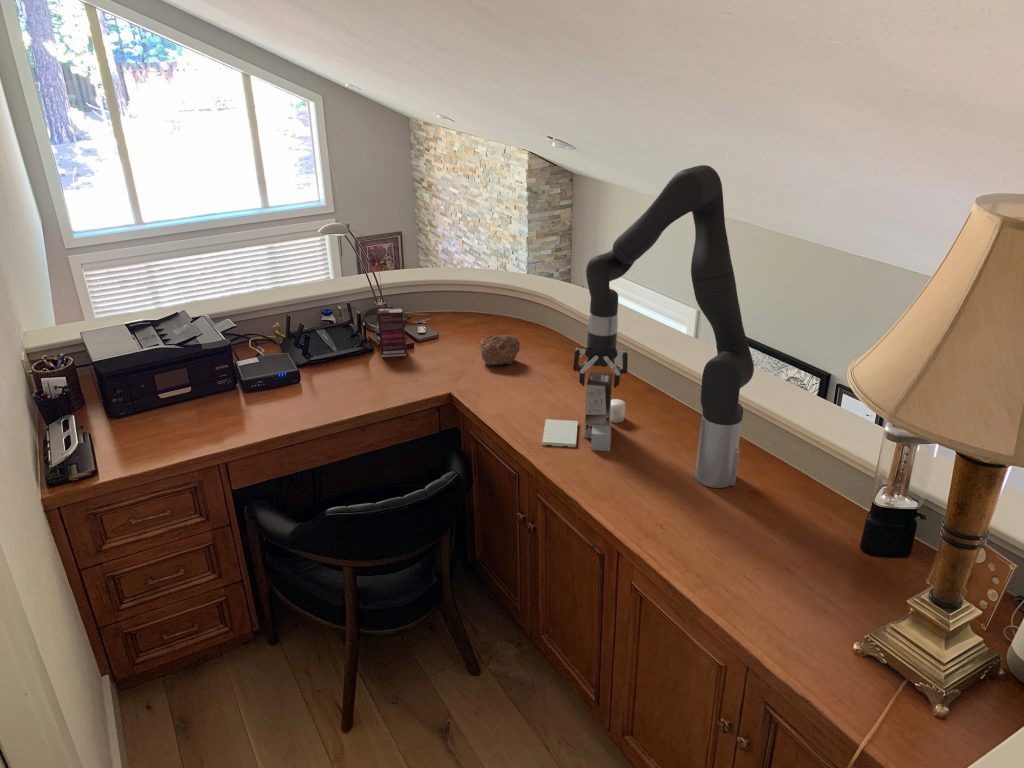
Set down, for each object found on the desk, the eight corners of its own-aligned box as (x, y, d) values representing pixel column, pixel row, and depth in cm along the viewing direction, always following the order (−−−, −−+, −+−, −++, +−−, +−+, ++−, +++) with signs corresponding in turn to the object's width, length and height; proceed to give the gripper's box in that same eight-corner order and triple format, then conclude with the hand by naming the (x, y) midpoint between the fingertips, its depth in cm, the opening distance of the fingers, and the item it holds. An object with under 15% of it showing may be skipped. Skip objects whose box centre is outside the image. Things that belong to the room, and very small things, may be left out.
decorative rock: (522, 357, 255) (522, 329, 250) (516, 370, 245) (516, 342, 240) (484, 354, 257) (483, 327, 253) (476, 367, 247) (476, 339, 243)
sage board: (577, 424, 211) (577, 421, 211) (575, 447, 200) (575, 443, 199) (545, 422, 212) (545, 419, 212) (541, 445, 201) (542, 442, 200)
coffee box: (607, 440, 203) (610, 386, 196) (583, 438, 204) (586, 384, 197) (610, 424, 211) (613, 372, 204) (587, 422, 212) (589, 370, 206)
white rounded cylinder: (624, 415, 216) (625, 399, 214) (624, 423, 212) (625, 407, 210) (606, 414, 217) (607, 398, 215) (606, 422, 212) (607, 406, 210)
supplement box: (406, 350, 260) (403, 307, 253) (406, 356, 256) (403, 312, 249) (381, 352, 259) (377, 308, 253) (380, 357, 255) (377, 313, 248)
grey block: (609, 442, 202) (611, 425, 200) (609, 451, 198) (611, 434, 196) (591, 441, 203) (592, 424, 201) (590, 450, 199) (591, 433, 196)
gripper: (574, 333, 192) (571, 390, 199) (630, 335, 191) (626, 393, 198) (575, 322, 199) (573, 378, 206) (630, 325, 198) (625, 381, 205)
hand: (599, 385), depth 202 cm, fingers open, 8 cm apart
